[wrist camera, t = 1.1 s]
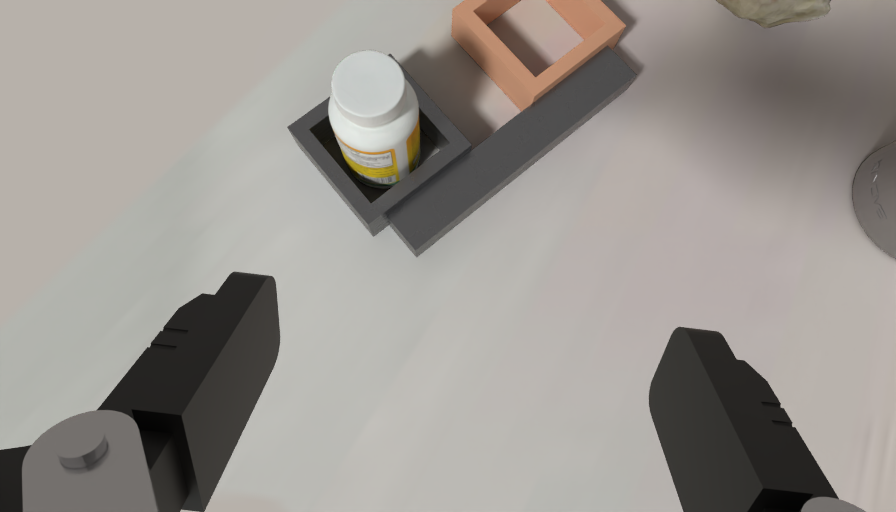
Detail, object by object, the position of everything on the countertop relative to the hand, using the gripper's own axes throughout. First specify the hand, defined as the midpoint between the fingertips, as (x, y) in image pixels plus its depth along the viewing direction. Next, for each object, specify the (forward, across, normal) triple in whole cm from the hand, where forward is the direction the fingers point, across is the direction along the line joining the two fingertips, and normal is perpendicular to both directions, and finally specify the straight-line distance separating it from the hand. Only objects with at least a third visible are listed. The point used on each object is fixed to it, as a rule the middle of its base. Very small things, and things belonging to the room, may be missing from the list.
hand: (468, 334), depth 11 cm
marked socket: (+35, -4, 0) cm, 35 cm away
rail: (+30, 0, +5) cm, 30 cm away
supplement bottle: (+28, +6, +8) cm, 29 cm away
